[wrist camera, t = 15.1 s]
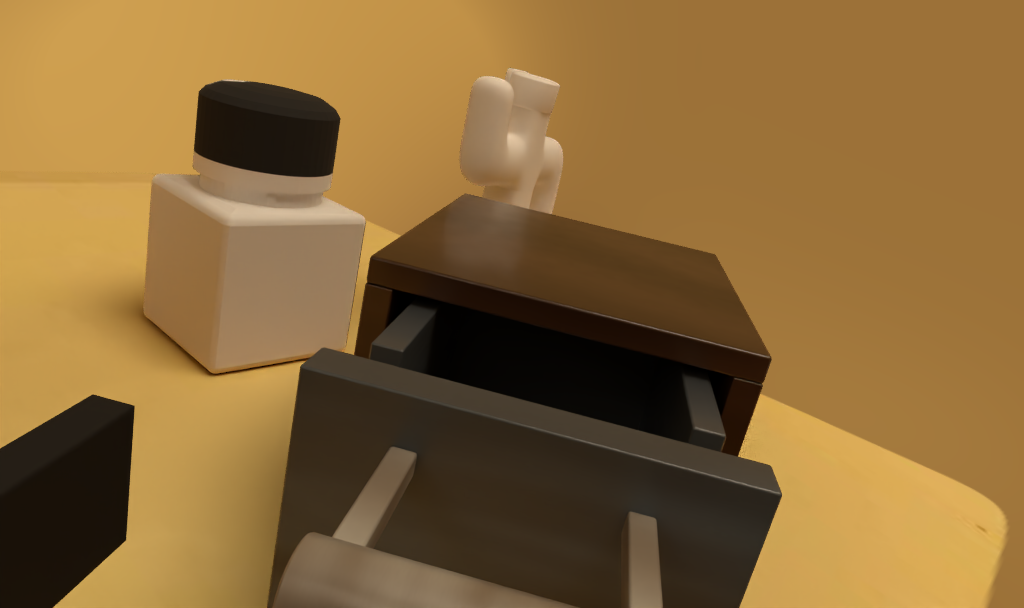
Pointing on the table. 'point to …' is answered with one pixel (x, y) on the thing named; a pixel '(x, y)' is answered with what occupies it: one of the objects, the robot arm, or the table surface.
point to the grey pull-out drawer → (511, 475)
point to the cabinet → (576, 292)
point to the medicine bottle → (254, 233)
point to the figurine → (512, 140)
